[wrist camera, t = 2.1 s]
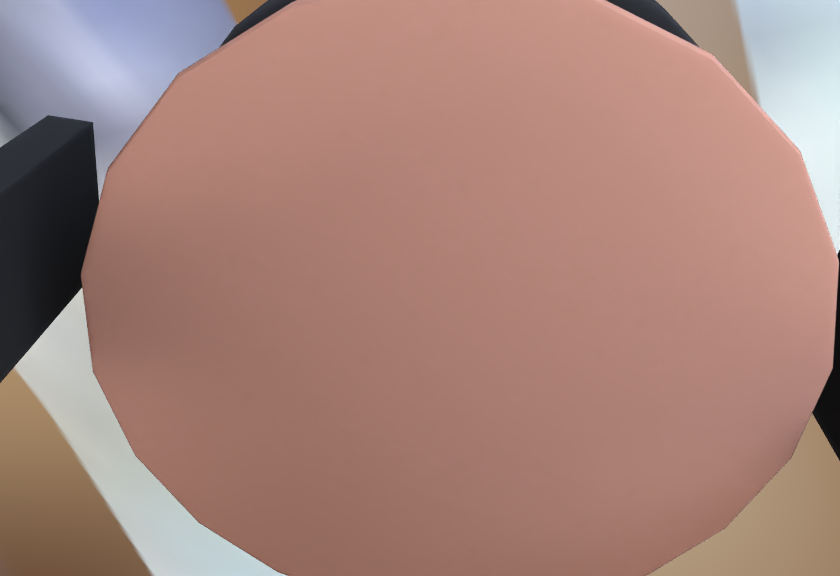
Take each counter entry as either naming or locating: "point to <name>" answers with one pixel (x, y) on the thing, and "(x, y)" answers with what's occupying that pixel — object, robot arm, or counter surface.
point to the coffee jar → (460, 289)
